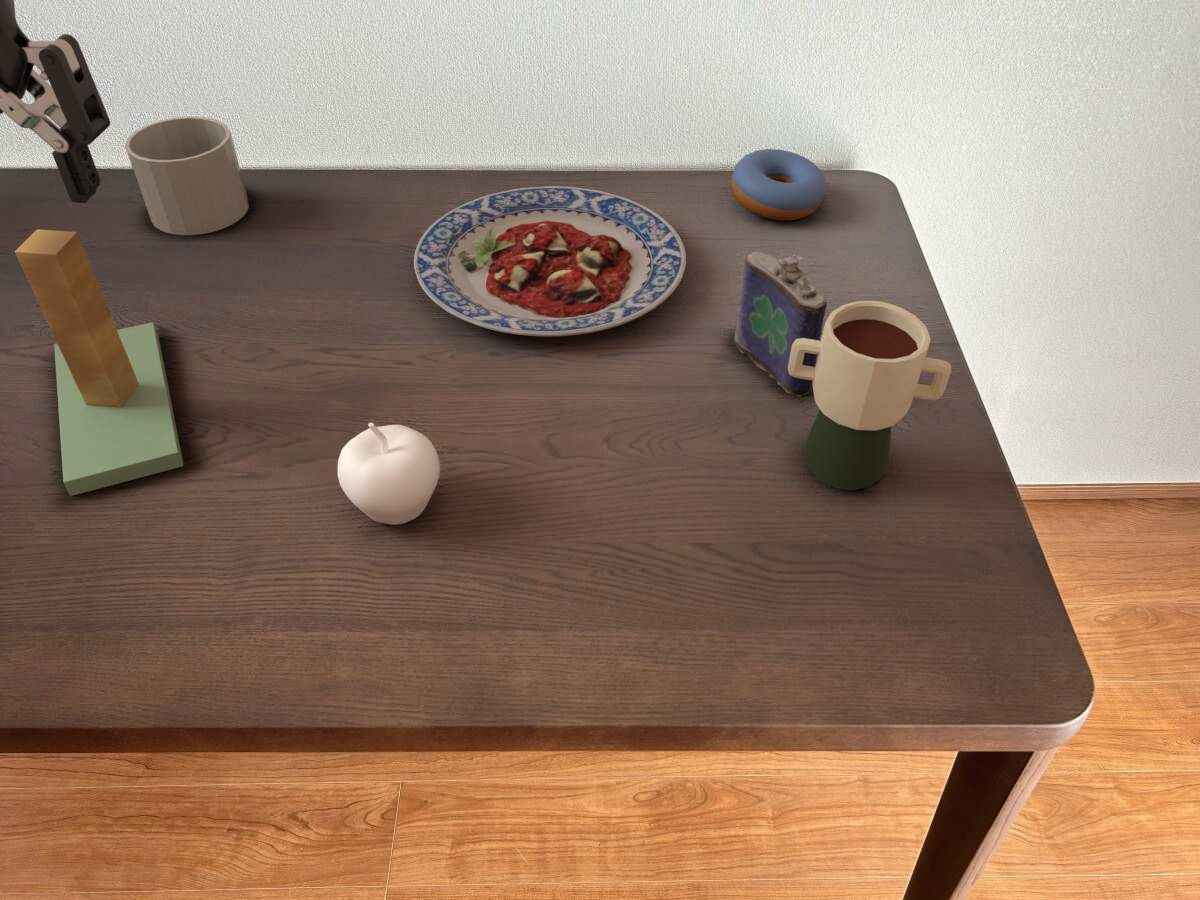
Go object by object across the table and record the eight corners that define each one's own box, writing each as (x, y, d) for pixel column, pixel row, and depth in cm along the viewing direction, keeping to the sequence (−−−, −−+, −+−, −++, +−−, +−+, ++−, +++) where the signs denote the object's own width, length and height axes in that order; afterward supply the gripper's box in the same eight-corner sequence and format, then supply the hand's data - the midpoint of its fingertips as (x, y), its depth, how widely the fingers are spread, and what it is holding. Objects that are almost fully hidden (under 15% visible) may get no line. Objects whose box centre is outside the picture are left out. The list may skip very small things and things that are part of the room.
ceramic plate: (725, 243, 98) (728, 217, 96) (608, 388, 81) (608, 360, 79) (507, 183, 106) (506, 157, 104) (360, 302, 90) (355, 275, 88)
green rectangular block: (60, 357, 83) (53, 343, 82) (158, 335, 86) (153, 321, 85) (70, 496, 71) (63, 482, 70) (184, 466, 74) (178, 452, 73)
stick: (85, 405, 76) (14, 251, 67) (103, 381, 79) (36, 229, 69) (122, 408, 76) (55, 254, 67) (139, 383, 78) (77, 231, 69)
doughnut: (841, 213, 102) (849, 173, 99) (765, 237, 99) (771, 196, 96) (784, 173, 109) (790, 134, 106) (710, 194, 105) (714, 154, 102)
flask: (727, 341, 86) (742, 235, 79) (754, 332, 87) (770, 226, 80) (793, 400, 80) (815, 292, 73) (821, 389, 81) (845, 282, 74)
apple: (365, 467, 74) (348, 386, 68) (456, 479, 73) (445, 398, 68) (332, 534, 69) (310, 453, 63) (428, 548, 68) (415, 467, 63)
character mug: (915, 448, 76) (959, 312, 67) (913, 512, 71) (961, 374, 62) (776, 424, 78) (802, 288, 69) (765, 485, 73) (791, 347, 64)
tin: (134, 232, 98) (107, 158, 92) (174, 185, 105) (152, 114, 100) (227, 238, 97) (206, 164, 92) (262, 190, 104) (244, 119, 99)
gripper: (66, -84, 56) (151, 173, 67) (-166, -95, 57) (-44, 160, 68) (-6, -43, 51) (99, 229, 62) (-260, -56, 52) (-111, 215, 63)
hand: (24, 193), depth 65 cm, fingers open, 8 cm apart
